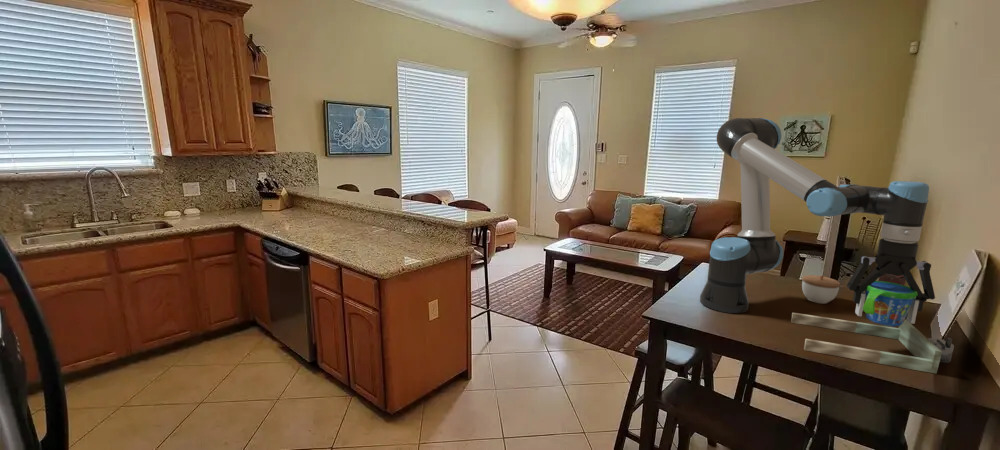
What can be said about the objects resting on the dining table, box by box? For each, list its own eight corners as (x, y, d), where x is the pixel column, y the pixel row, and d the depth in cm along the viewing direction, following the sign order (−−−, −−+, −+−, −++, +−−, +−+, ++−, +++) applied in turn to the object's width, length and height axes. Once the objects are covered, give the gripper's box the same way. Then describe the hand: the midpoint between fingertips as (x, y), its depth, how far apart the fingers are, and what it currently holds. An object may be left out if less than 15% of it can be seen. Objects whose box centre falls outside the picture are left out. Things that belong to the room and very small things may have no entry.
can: (902, 319, 134) (911, 278, 131) (879, 318, 135) (888, 277, 132) (889, 312, 140) (897, 272, 137) (867, 310, 141) (875, 271, 138)
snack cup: (883, 311, 121) (890, 278, 119) (927, 326, 111) (935, 290, 109) (841, 316, 118) (847, 282, 115) (882, 333, 107) (889, 296, 105)
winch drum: (931, 362, 108) (937, 337, 107) (919, 351, 114) (925, 327, 113) (957, 367, 106) (963, 341, 105) (944, 355, 112) (950, 330, 110)
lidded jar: (841, 301, 148) (845, 276, 146) (829, 308, 142) (834, 282, 141) (806, 292, 157) (810, 269, 155) (794, 298, 151) (798, 274, 149)
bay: (804, 350, 115) (808, 330, 114) (790, 321, 133) (793, 303, 132) (936, 373, 103) (941, 351, 102) (901, 338, 121) (906, 319, 120)
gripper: (848, 238, 111) (835, 315, 116) (966, 247, 101) (947, 331, 106) (840, 233, 118) (828, 306, 122) (950, 241, 108) (932, 320, 113)
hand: (883, 318), depth 114 cm, fingers closed on snack cup, 10 cm apart
